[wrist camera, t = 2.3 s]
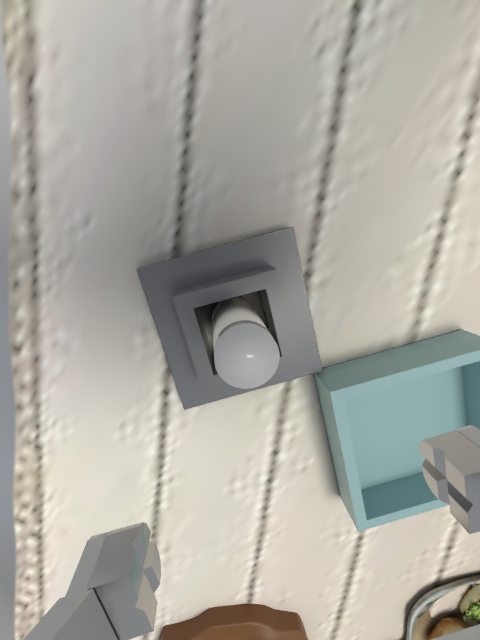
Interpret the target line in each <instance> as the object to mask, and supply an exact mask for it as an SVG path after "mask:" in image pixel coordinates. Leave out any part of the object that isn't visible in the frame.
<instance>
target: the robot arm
mask: <svg viewBox="0 0 480 640" xmlns="http://www.w3.org/2000/svg"><path fill="white" fill-rule="evenodd" d="M419 447H420V453H421V454H422V455H423V456H424V457H425V460H424V462H423V464H422V469H423V475H424V478H425V480H426V482H427V485H428V486H429V488H430V489H431V491H432V493H433V494H434V495H435V496H436V497H437V498H438V499H439V500H440V501H442V502H445V503H447V504H449V505H450V512H451V514H452V515H453V516H454V517H455V518H456V520H457V521H458V522H459V523H460V524H461V525H462V526H463V527H464V528H465V530H466V531H467V532H468V533H469V534H471V533H475V532H479V531H480V430H479V429H478V428H476V427H475V426H471V425H468V426H465V427H462V428H459V429H456V430H453V431H450V432H447V433H444V434H440V435H437V436H434V437H431V438H427V439H424V440H421V441H420V444H419ZM150 533H151V532H150V530H149V528H148V526H147V523H144V522H142V523H138V524H135V525H131V526H127V527H124V528H120V529H116V530H112V531H109V532H106V533H103V534H99V535H95V536H92V537H91V538H90V539H89V540H88V541H87V543H86V546H85V548H84V551H83V553H82V556H81V558H80V561H79V564H78V566H77V569H76V571H75V574H74V576H73V579H72V581H71V584H70V586H69V589H68V592H67V594H66V597H63V598H60V599H59V600H58V601H57V602H56V603H55V604H54V606H53V607H52V608H51V609H50V610H49V611H48V612H47V613H46V615H45V616H44V617H43V618H42V619H41V620H40V621H39V622H38V624H37V625H36V626H35V627H34V628H33V629H32V630H31V631H30V633H29V634H28V635H27V636H26V637H25V638H24V639H23V640H129V639H132V638H135V637H137V636H140V635H143V634H146V633H149V632H152V631H154V624H155V616H156V609H157V600H156V598H155V595H154V592H155V591H156V589H157V588H158V586H159V585H160V578H161V563H160V557H159V552H158V549H157V547H156V545H155V544H154V543H152V542H150V541H149V539H150ZM432 640H480V624H479V625H475V626H472V627H469V628H466V629H463V630H460V631H457V632H454V633H450V634H447V635H444V636H441V637H438V638H435V639H432Z"/></svg>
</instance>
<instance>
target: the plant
mask: <svg viewBox="0 0 480 640" xmlns="http://www.w3.org/2000/svg"><path fill="white" fill-rule="evenodd" d="M159 640H308V639H307V636H306V632H305V629H304V626H303V623H302V621H301V618H300V616H299V615H298V614H297V613H294V612H288V611H280V610H276V609H272V608H270V607H268V606H265V605H259V604H240V605H232V606H222V607H214V608H210V609H208V610H206V611H205V612H203V613H202V614H201V615H199V616H197V617H195V618H193V619H190V620H187V621H184V622H180V623H177V624H171V625H166V626H164V628H163V632H162V634H161V636H160V639H159Z"/></svg>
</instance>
